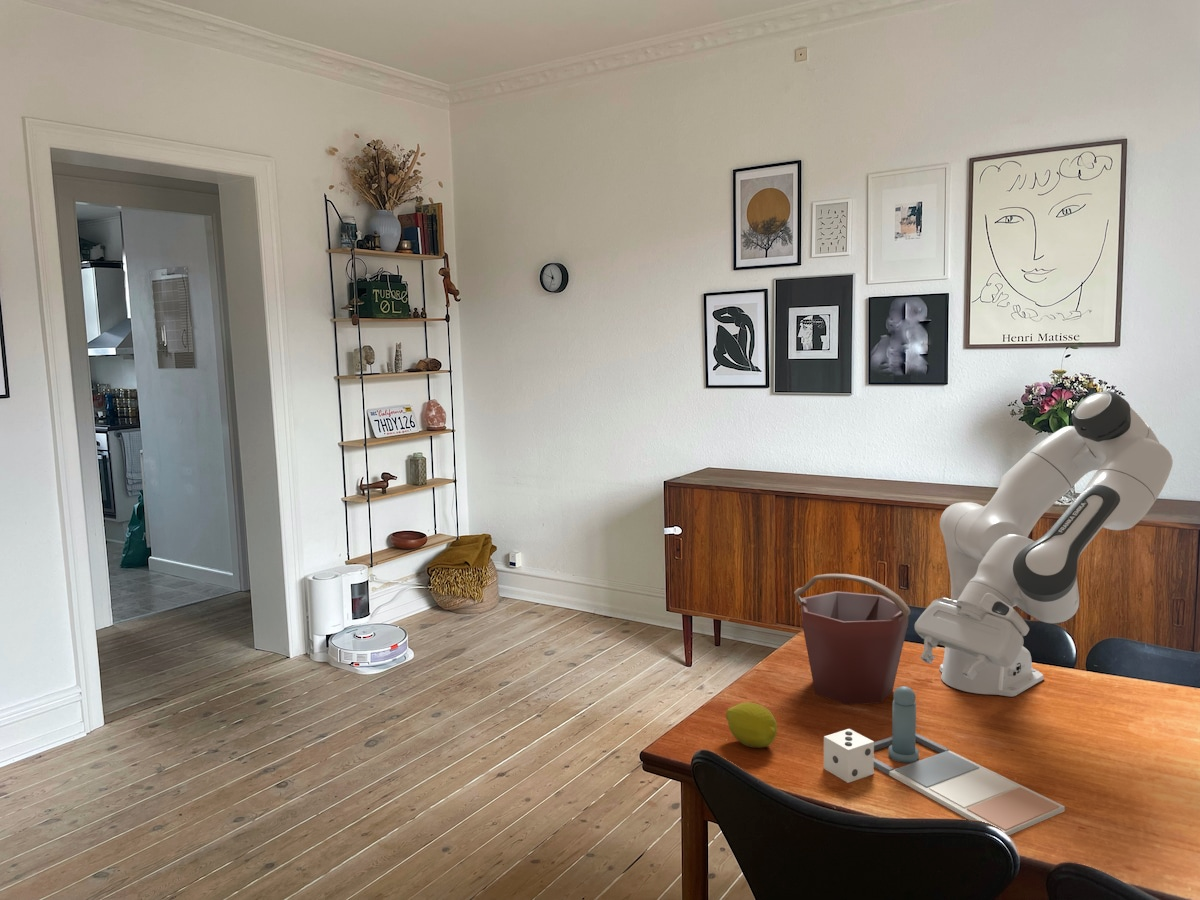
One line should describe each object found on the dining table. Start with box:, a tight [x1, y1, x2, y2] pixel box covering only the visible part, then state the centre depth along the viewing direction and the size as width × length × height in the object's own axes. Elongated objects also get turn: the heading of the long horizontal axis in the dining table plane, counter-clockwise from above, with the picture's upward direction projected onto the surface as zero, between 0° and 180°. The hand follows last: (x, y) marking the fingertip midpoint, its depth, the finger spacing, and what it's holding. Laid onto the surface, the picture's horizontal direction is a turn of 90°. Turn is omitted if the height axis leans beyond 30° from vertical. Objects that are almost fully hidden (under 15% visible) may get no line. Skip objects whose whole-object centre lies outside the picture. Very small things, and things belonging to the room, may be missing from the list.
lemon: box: [725, 701, 778, 749], centre depth 164 cm, size 11×8×8 cm
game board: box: [874, 732, 1066, 837], centre depth 149 cm, size 15×32×1 cm, turn 28°
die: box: [823, 728, 875, 784], centre depth 153 cm, size 6×6×6 cm
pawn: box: [888, 685, 920, 764], centre depth 158 cm, size 5×5×13 cm
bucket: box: [793, 573, 911, 705], centre depth 188 cm, size 24×22×25 cm
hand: (945, 668), depth 161 cm, fingers open, 8 cm apart
